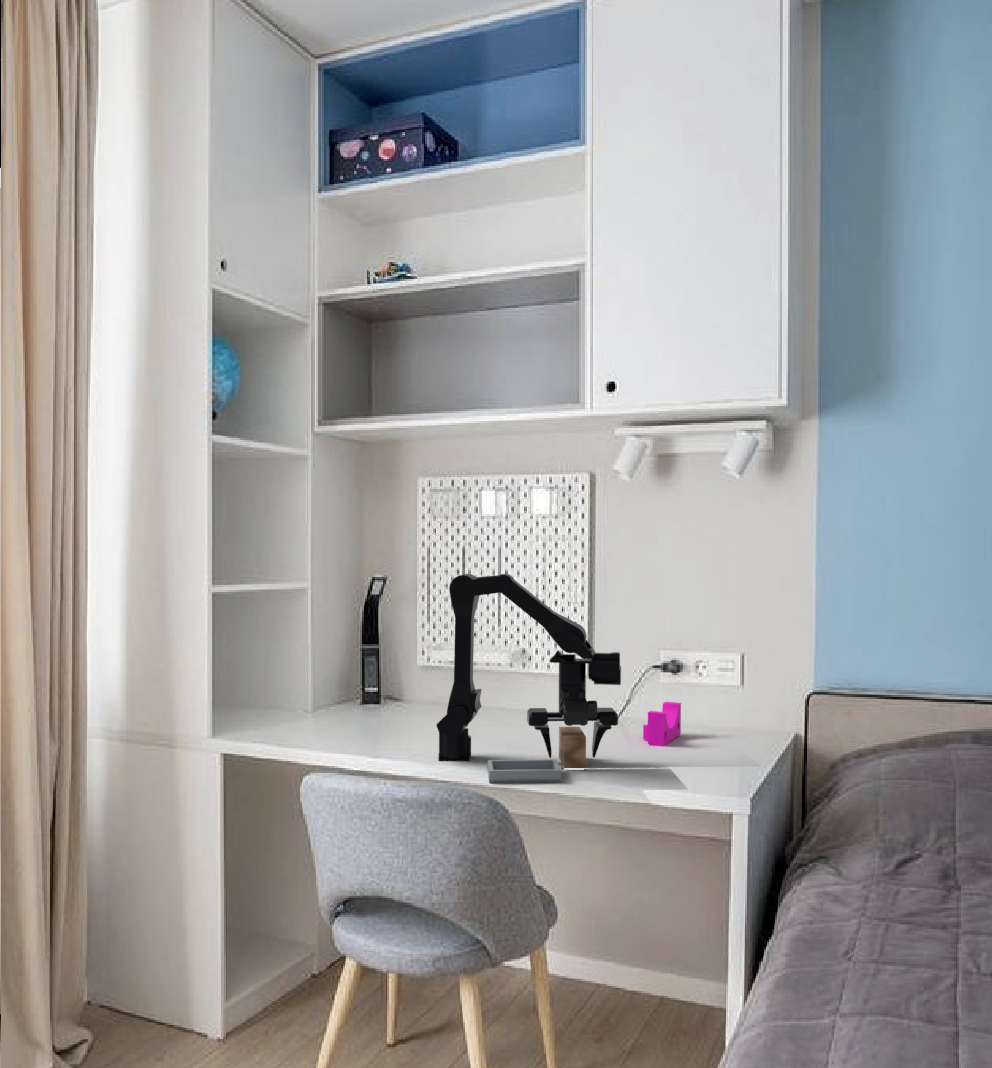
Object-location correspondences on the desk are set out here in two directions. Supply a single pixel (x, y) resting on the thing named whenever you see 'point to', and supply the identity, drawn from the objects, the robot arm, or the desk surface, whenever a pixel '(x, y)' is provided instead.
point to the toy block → (663, 724)
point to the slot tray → (524, 771)
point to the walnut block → (572, 747)
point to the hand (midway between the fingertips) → (571, 757)
